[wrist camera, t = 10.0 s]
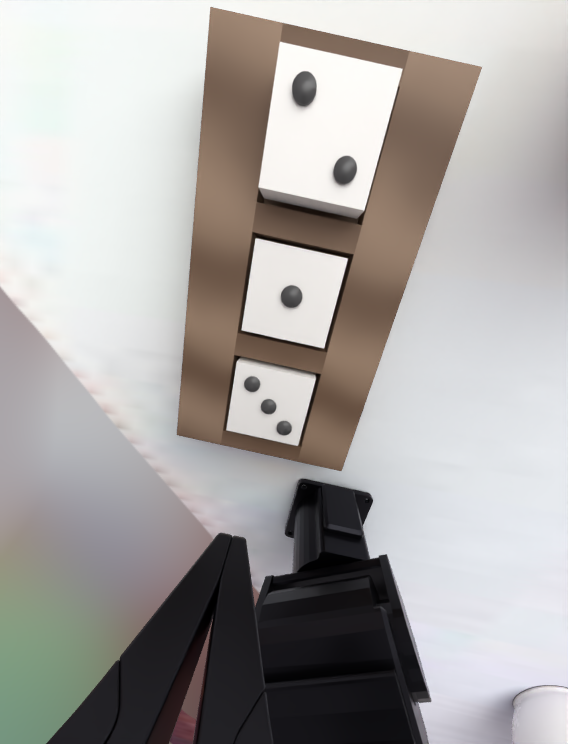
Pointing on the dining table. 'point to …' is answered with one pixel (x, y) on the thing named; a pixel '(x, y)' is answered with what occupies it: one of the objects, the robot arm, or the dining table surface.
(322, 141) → the two dot key
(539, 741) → the lidded bowl
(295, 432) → the three dot key
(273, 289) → the one dot key
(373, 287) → the key panel
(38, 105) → the dining table surface
